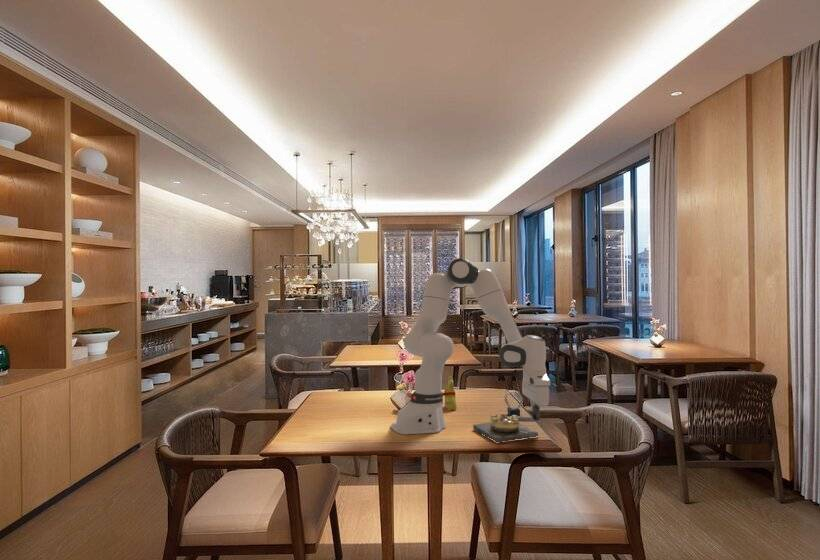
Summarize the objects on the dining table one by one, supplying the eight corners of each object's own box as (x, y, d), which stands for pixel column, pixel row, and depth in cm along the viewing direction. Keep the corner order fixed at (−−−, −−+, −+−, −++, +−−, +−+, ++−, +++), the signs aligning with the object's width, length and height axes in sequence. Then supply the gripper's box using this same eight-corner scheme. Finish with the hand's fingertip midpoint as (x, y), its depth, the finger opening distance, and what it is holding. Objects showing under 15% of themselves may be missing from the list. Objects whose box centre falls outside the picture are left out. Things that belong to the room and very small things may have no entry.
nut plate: (497, 443, 174) (497, 437, 174) (473, 429, 191) (473, 424, 191) (538, 437, 181) (538, 431, 181) (511, 424, 198) (511, 419, 198)
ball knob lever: (491, 431, 181) (491, 408, 181) (490, 423, 192) (490, 401, 192) (541, 433, 179) (541, 410, 179) (537, 424, 190) (537, 403, 190)
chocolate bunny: (452, 404, 230) (452, 373, 230) (458, 410, 219) (458, 378, 219) (438, 405, 229) (438, 374, 229) (443, 411, 218) (443, 378, 218)
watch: (524, 417, 209) (524, 392, 209) (506, 417, 208) (506, 392, 208) (521, 413, 214) (521, 389, 214) (503, 413, 214) (503, 389, 214)
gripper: (518, 371, 198) (518, 404, 198) (535, 382, 177) (535, 419, 177) (533, 371, 198) (533, 404, 198) (552, 382, 178) (552, 418, 178)
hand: (534, 411), depth 188 cm, fingers closed
